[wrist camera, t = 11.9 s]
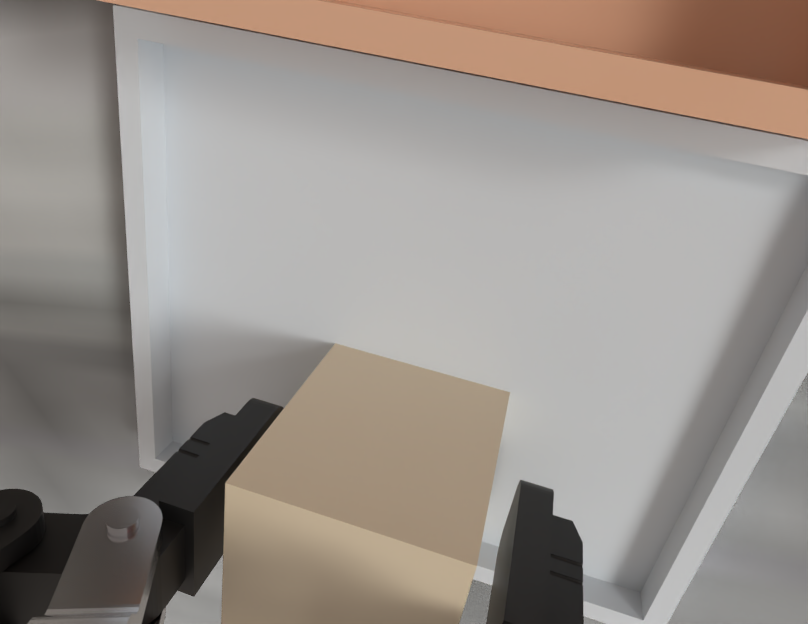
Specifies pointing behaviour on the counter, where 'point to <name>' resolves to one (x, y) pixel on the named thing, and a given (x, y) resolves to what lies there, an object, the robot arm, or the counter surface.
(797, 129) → the dish
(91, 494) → the counter surface
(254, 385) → the tray
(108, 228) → the counter surface
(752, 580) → the counter surface
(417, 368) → the beige wooden cube
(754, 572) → the counter surface
